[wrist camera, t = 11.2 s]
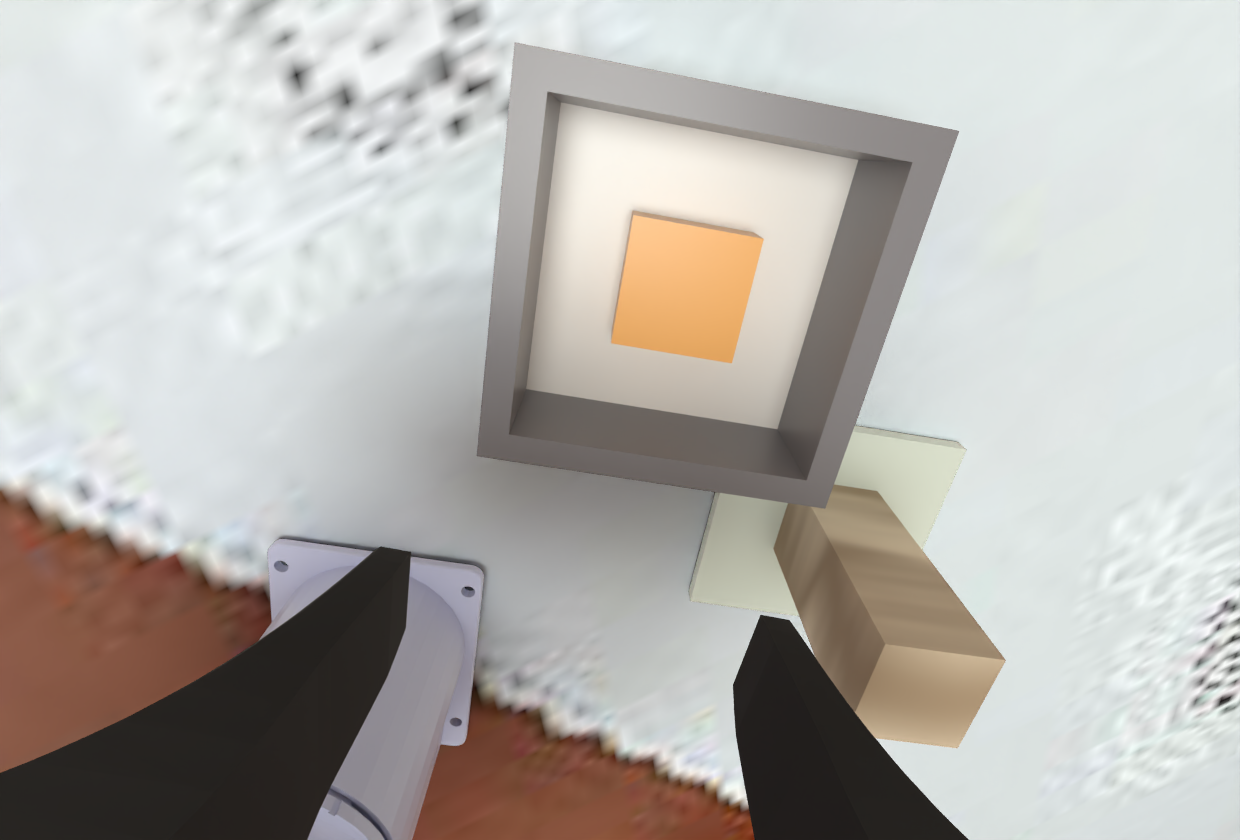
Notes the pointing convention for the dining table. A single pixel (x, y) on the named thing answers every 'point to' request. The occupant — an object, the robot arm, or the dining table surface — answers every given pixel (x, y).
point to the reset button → (684, 286)
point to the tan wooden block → (885, 620)
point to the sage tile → (748, 527)
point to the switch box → (711, 194)
